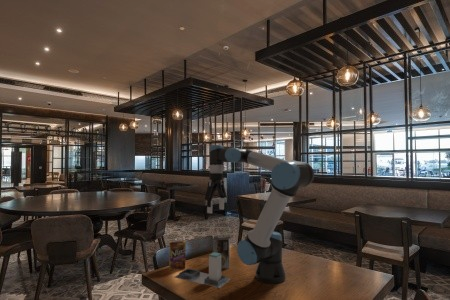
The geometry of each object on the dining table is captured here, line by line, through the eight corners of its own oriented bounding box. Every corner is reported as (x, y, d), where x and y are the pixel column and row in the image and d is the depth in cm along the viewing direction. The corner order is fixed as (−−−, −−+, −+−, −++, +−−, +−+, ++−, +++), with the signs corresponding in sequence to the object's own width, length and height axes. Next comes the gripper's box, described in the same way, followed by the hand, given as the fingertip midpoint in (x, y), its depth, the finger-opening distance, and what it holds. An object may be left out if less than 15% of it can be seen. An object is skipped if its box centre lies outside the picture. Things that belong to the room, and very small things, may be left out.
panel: (230, 279, 141) (230, 275, 141) (219, 288, 130) (219, 284, 131) (187, 270, 153) (187, 266, 153) (173, 278, 142) (173, 274, 142)
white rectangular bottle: (221, 279, 139) (221, 253, 140) (216, 283, 135) (217, 256, 136) (211, 277, 142) (212, 251, 142) (207, 281, 138) (207, 254, 138)
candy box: (168, 270, 152) (169, 242, 153) (169, 267, 156) (169, 240, 157) (185, 270, 153) (185, 241, 154) (185, 267, 158) (185, 239, 158)
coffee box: (229, 265, 161) (230, 236, 162) (228, 269, 154) (229, 239, 155) (214, 264, 162) (214, 236, 163) (212, 268, 155) (212, 239, 156)
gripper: (220, 172, 170) (220, 207, 168) (198, 173, 147) (198, 214, 146) (231, 172, 166) (231, 208, 165) (210, 173, 144) (210, 215, 143)
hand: (215, 211), depth 156 cm, fingers open, 13 cm apart
